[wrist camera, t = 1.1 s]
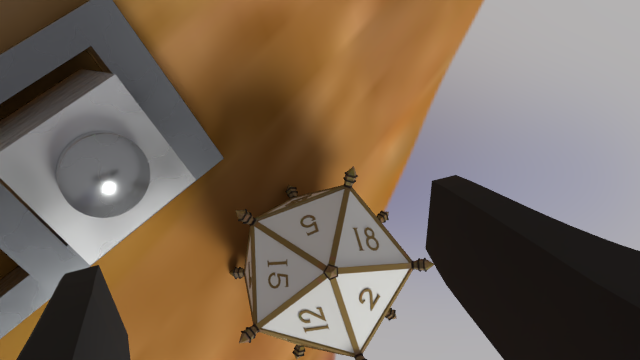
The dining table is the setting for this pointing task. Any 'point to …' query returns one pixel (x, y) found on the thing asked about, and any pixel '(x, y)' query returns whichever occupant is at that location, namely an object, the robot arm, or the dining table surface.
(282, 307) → the game die
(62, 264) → the metal frame
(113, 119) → the grey knob block
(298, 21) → the dining table surface
